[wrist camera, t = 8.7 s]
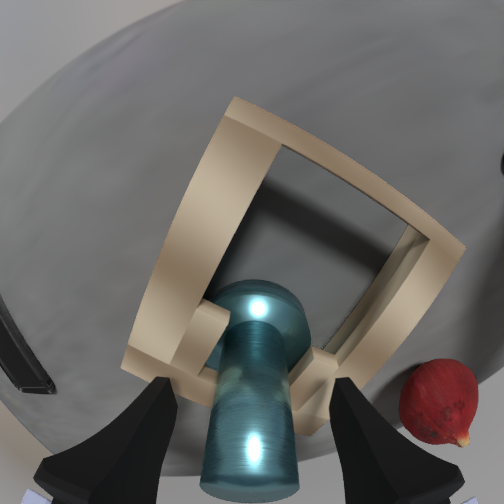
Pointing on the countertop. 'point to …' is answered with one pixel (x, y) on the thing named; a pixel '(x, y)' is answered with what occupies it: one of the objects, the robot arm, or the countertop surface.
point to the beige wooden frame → (217, 240)
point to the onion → (439, 402)
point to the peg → (254, 394)
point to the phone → (20, 358)
